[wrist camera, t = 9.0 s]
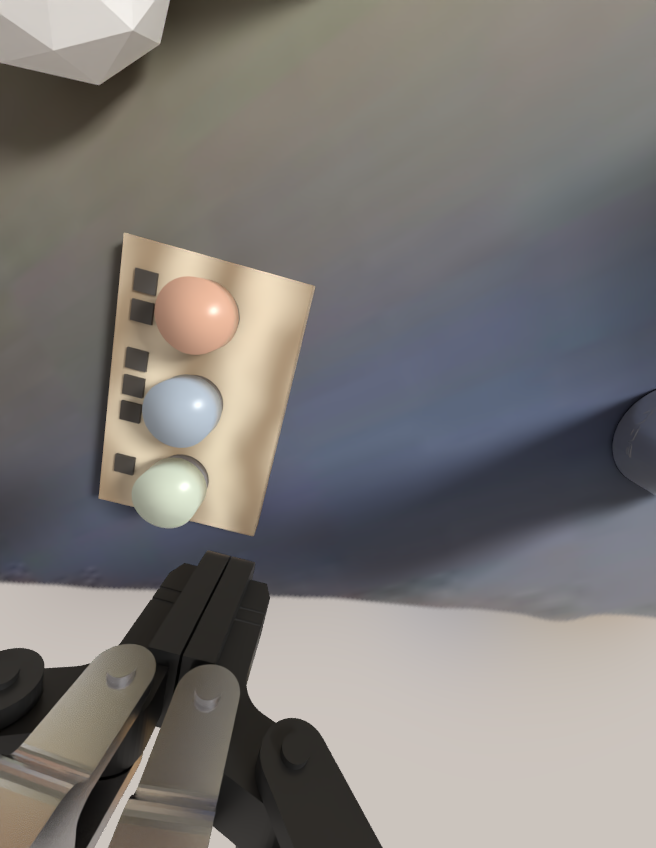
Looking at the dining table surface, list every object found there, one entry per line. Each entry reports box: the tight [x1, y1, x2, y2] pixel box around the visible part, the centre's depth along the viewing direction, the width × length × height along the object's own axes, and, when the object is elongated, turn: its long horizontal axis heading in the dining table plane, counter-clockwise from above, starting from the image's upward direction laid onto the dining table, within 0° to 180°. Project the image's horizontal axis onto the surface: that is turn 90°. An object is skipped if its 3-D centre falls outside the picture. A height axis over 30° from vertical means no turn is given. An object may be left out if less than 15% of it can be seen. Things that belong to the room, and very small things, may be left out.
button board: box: [99, 233, 315, 536], centre depth 32 cm, size 14×22×3 cm, turn 165°
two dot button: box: [154, 276, 239, 355], centre depth 27 cm, size 5×5×2 cm
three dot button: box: [142, 374, 222, 448], centre depth 29 cm, size 5×5×2 cm
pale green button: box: [132, 458, 207, 528], centre depth 31 cm, size 5×5×2 cm
